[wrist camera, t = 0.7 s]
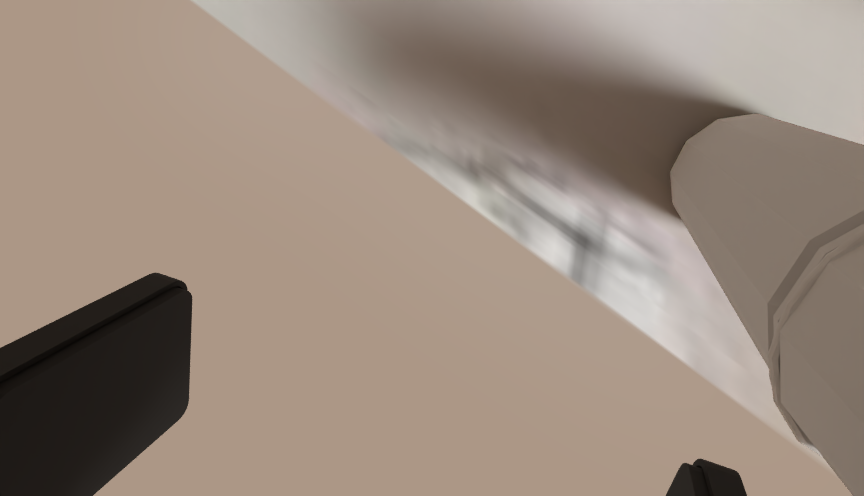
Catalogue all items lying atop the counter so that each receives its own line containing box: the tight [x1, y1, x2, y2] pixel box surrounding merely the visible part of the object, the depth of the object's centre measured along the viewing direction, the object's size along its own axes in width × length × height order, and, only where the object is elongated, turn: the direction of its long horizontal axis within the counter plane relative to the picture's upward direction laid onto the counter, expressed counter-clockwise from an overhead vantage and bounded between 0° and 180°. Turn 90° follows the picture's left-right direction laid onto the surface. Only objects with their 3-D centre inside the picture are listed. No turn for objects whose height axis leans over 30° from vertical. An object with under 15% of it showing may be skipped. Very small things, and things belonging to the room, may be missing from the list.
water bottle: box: [670, 113, 864, 496], centre depth 19 cm, size 9×8×25 cm
